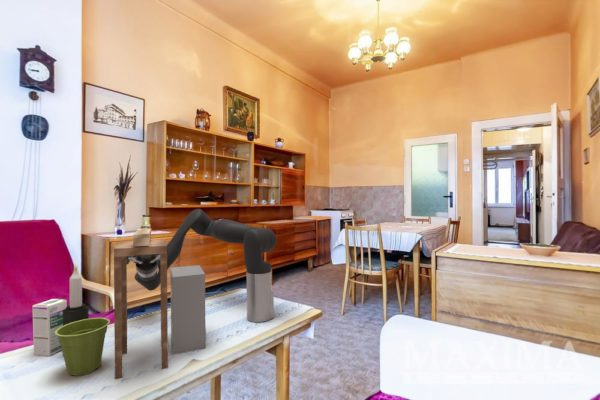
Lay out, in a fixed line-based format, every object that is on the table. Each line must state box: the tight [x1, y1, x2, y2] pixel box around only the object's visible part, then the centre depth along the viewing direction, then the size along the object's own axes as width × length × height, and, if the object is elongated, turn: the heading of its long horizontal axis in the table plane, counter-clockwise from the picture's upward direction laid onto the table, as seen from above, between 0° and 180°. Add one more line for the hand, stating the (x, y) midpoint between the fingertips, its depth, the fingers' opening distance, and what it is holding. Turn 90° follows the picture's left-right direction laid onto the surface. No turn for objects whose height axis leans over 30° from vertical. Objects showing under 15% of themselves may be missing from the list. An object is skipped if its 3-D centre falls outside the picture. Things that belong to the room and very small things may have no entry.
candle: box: [63, 265, 90, 326], centre depth 90 cm, size 5×5×25 cm
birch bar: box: [132, 228, 152, 247], centre depth 90 cm, size 4×24×3 cm, turn 25°
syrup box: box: [32, 298, 68, 357], centre depth 91 cm, size 6×6×14 cm
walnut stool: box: [113, 238, 169, 380], centre depth 86 cm, size 12×15×32 cm
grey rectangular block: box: [169, 264, 207, 355], centre depth 97 cm, size 9×14×22 cm, turn 25°
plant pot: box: [55, 317, 111, 377], centre depth 81 cm, size 12×12×11 cm
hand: (145, 248), depth 106 cm, fingers open, 8 cm apart
